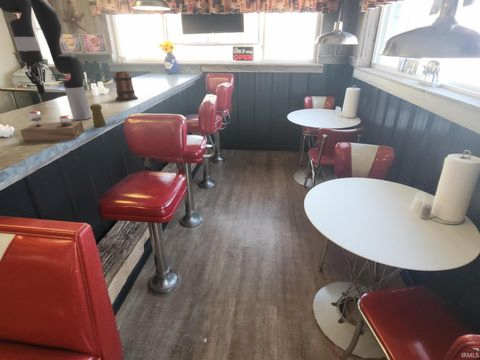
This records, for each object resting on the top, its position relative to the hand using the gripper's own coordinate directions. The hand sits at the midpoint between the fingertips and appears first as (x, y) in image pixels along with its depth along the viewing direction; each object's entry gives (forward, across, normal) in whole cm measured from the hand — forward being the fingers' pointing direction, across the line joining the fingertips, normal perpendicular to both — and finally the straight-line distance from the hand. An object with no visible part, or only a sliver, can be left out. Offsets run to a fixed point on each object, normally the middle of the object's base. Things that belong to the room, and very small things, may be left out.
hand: (42, 93), depth 122 cm
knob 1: (+14, 0, -6) cm, 15 cm away
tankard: (+19, -101, +16) cm, 104 cm away
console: (+19, 0, 0) cm, 19 cm away
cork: (+19, -16, +16) cm, 29 cm away
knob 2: (+17, 0, +6) cm, 18 cm away
